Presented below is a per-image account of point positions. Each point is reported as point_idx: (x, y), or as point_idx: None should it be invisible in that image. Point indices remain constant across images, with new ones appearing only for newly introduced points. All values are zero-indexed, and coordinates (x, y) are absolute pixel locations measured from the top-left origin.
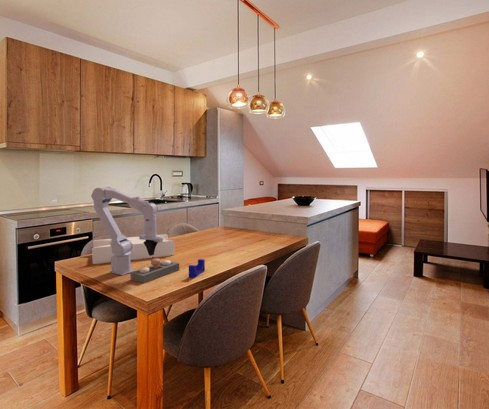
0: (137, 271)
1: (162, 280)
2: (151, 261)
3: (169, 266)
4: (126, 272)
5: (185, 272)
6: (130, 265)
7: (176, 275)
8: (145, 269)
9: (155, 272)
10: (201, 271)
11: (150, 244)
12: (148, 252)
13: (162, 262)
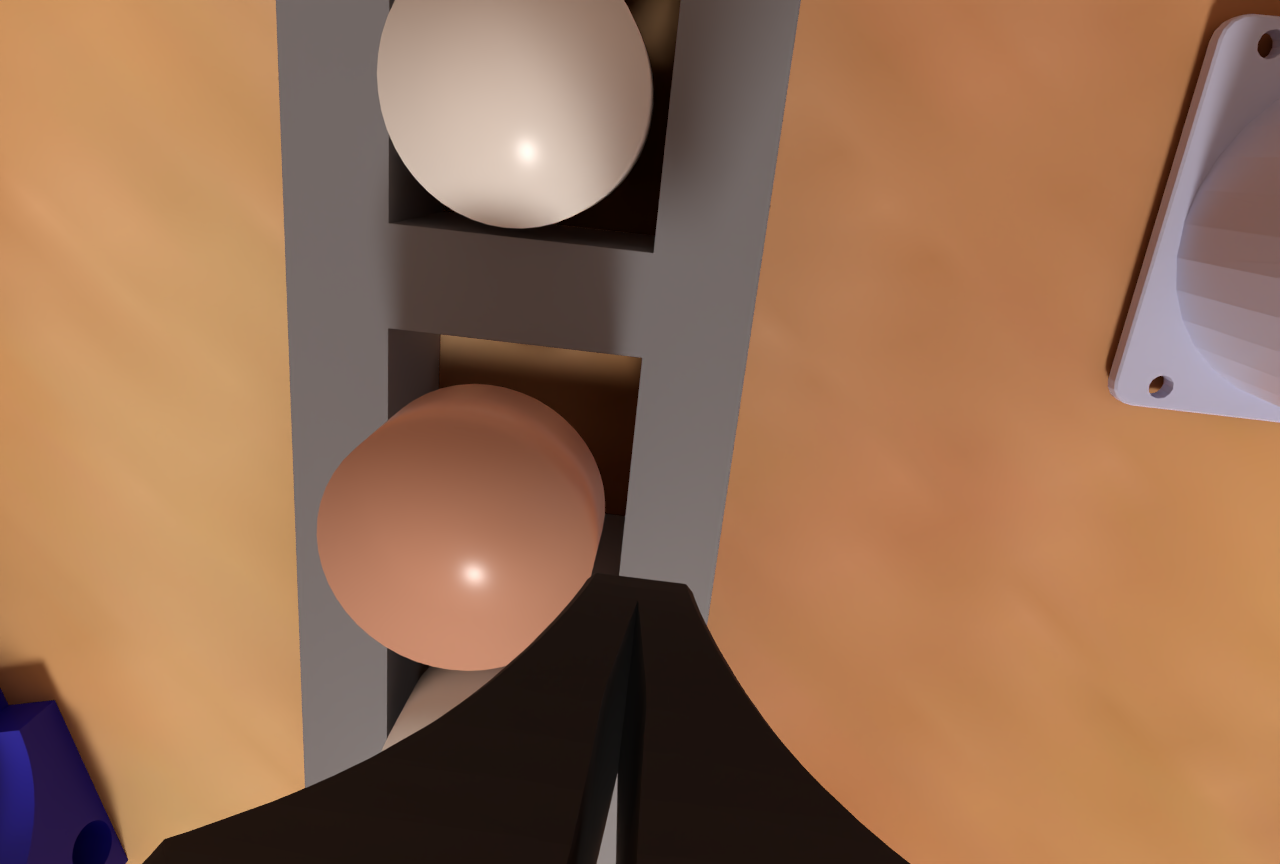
0: (703, 2)
1: (169, 190)
2: (503, 420)
3: (308, 641)
4: (1204, 182)
5: (174, 702)
6: (1269, 355)
7: (178, 525)
8: (423, 35)
9: (293, 215)
10: None
11: (182, 850)
12: (669, 621)
13: None
